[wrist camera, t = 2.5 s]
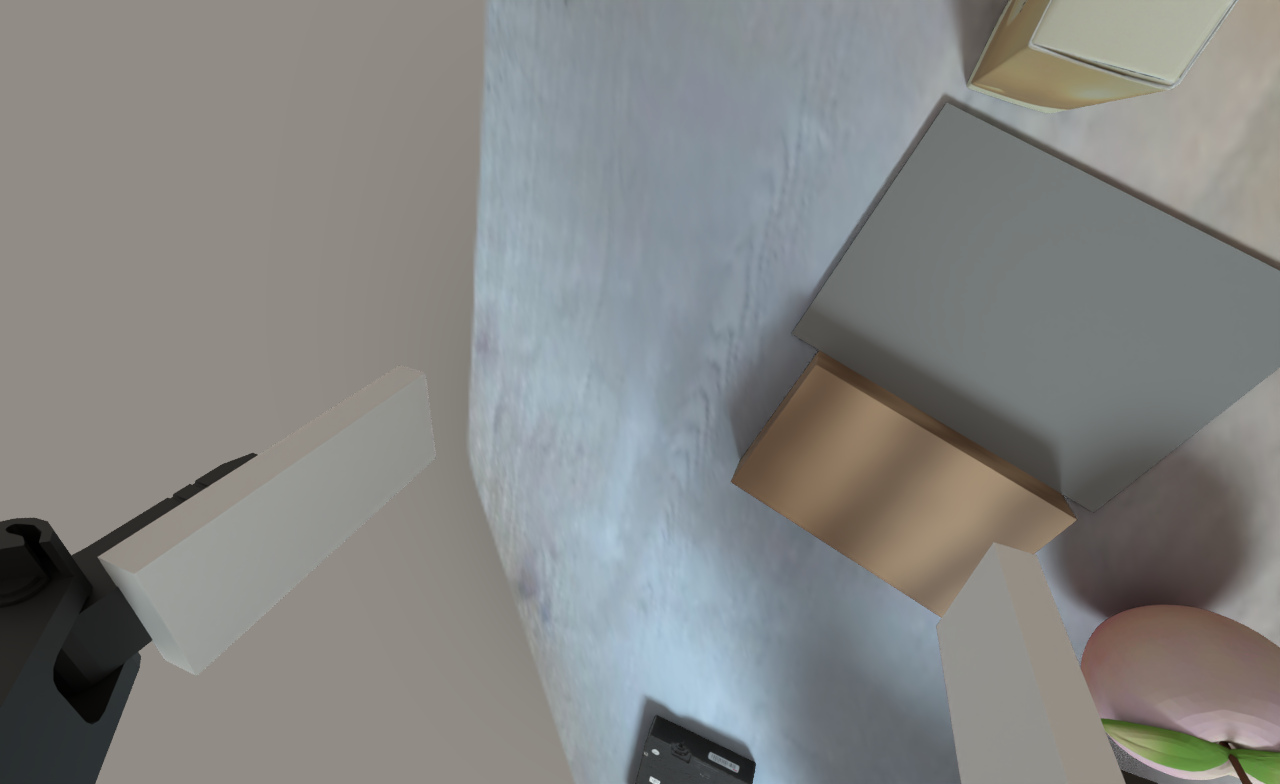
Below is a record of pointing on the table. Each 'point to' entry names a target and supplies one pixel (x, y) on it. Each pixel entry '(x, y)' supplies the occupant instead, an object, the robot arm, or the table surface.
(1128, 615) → the decorative fruit
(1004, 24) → the skincare box
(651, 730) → the disk drive
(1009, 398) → the rubber mat
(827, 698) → the table surface
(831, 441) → the walnut ledge
